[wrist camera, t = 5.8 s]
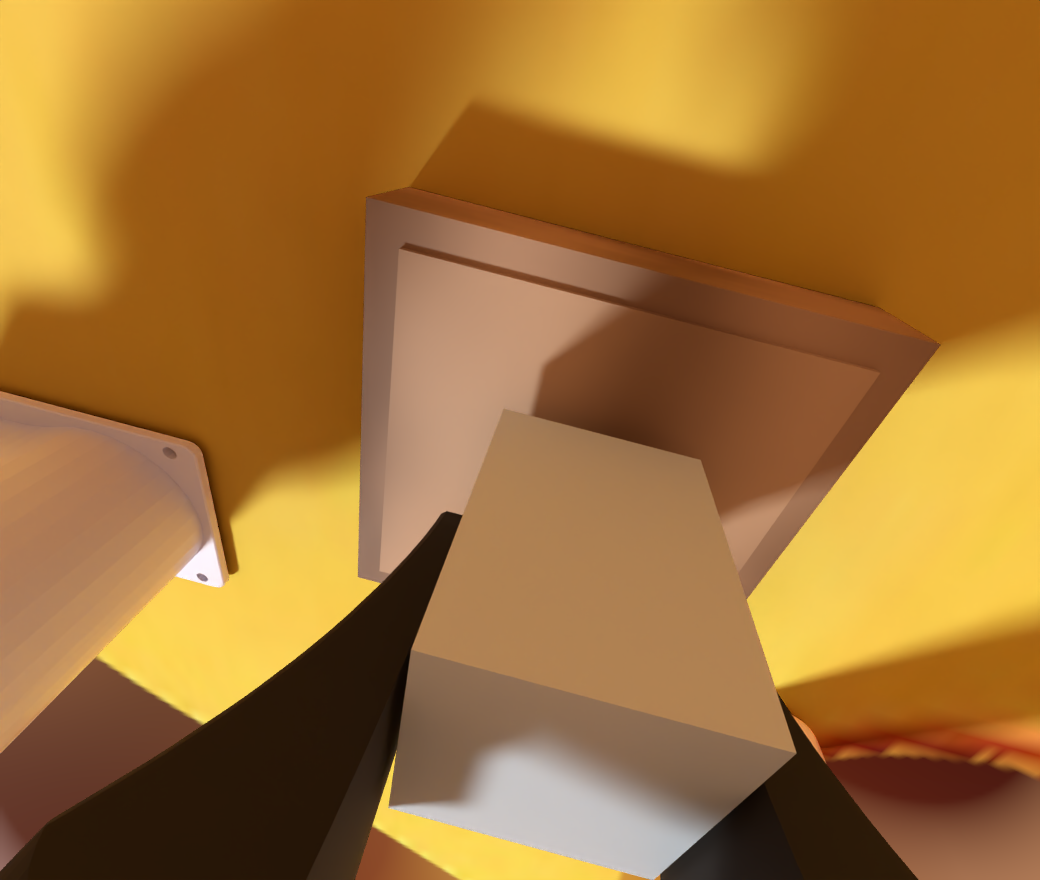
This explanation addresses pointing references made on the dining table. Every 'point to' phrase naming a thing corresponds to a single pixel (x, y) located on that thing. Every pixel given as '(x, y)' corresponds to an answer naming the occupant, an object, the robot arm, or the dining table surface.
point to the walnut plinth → (604, 369)
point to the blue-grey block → (587, 658)
